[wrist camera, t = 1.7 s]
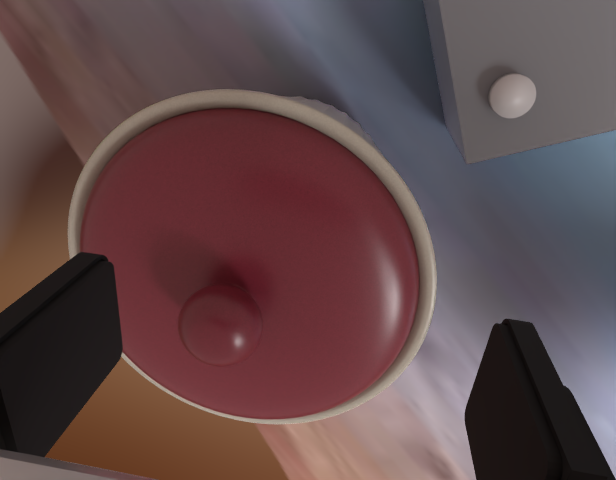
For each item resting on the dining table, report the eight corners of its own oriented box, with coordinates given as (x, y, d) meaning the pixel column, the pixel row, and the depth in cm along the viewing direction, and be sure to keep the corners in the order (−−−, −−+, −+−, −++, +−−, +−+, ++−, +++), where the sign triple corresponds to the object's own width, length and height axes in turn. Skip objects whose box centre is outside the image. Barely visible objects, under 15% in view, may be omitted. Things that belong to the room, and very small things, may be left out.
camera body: (668, -142, 25) (838, -242, 16) (668, 69, 30) (803, 91, 20) (409, -48, 29) (419, -83, 20) (441, 127, 33) (463, 170, 24)
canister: (468, 177, 35) (562, 360, 16) (312, 314, 42) (250, 550, 23) (285, 2, 31) (133, -30, 13) (153, 184, 39) (-66, 335, 20)
